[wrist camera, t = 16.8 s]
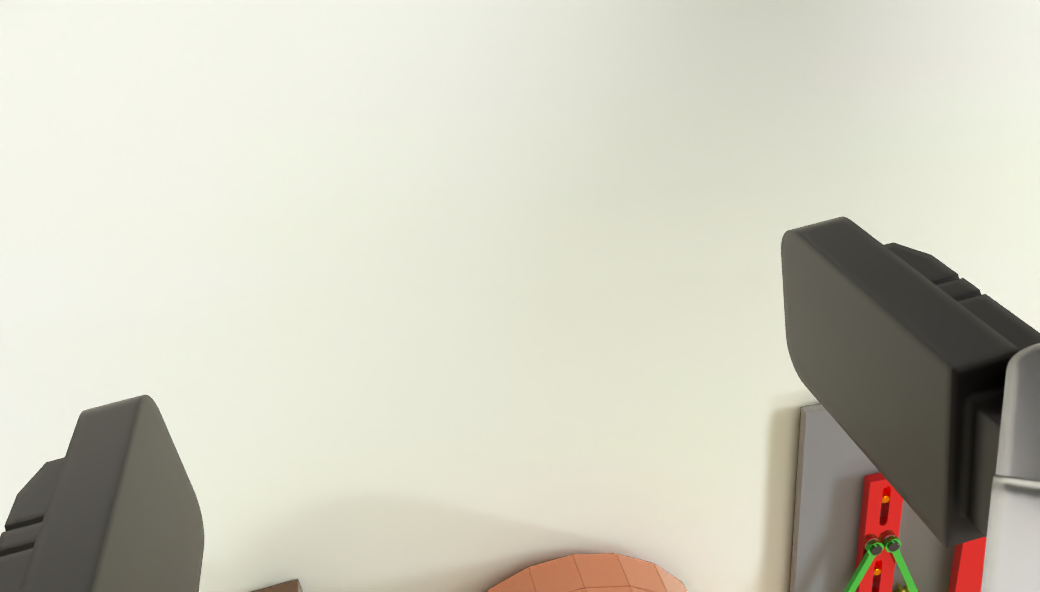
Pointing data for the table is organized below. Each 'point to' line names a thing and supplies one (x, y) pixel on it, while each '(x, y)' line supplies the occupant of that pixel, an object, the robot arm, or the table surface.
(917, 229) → the table surface
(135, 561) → the robot arm
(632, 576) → the bowl
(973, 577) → the gear board
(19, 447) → the table surface
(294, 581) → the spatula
